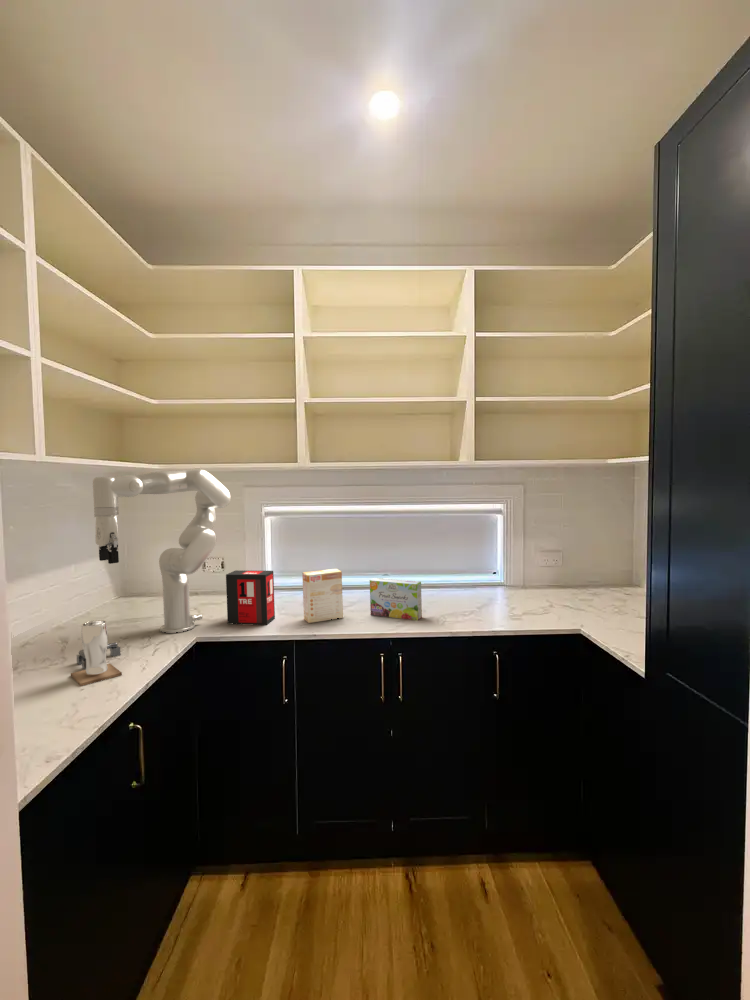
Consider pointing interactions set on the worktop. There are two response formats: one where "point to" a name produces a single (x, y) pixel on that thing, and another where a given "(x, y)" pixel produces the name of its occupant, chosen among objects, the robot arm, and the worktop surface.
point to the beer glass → (95, 646)
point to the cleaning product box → (250, 597)
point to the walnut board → (85, 679)
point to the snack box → (396, 598)
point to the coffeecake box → (322, 595)
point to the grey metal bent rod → (112, 646)
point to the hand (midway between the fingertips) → (108, 561)
